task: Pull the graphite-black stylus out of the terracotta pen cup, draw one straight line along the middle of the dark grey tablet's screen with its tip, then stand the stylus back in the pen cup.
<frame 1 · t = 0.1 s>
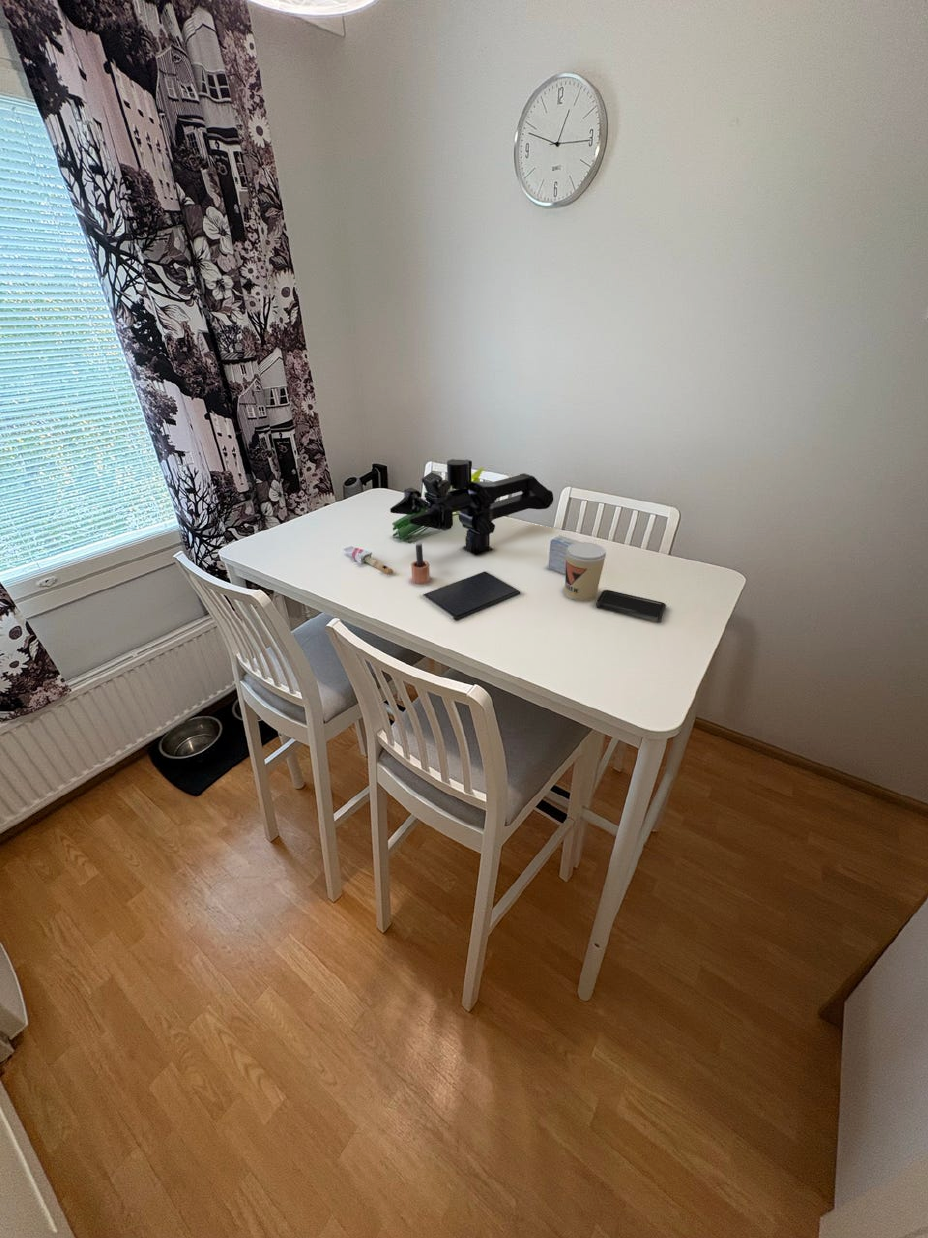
hand: (399, 515, 123), 17 cm above the table, tool horizontal, fingers open, 9 cm apart
paintbrush: (368, 564, 138), on the table
tablet: (471, 595, 122), on the table
medicine box: (564, 571, 133), on the table
pen cup: (421, 581, 129), on the table
daffodil flowers: (439, 529, 158), on the table
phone: (630, 608, 117), on the table
stylus: (421, 579, 128), resting on pen cup
coffee cup: (580, 593, 123), on the table
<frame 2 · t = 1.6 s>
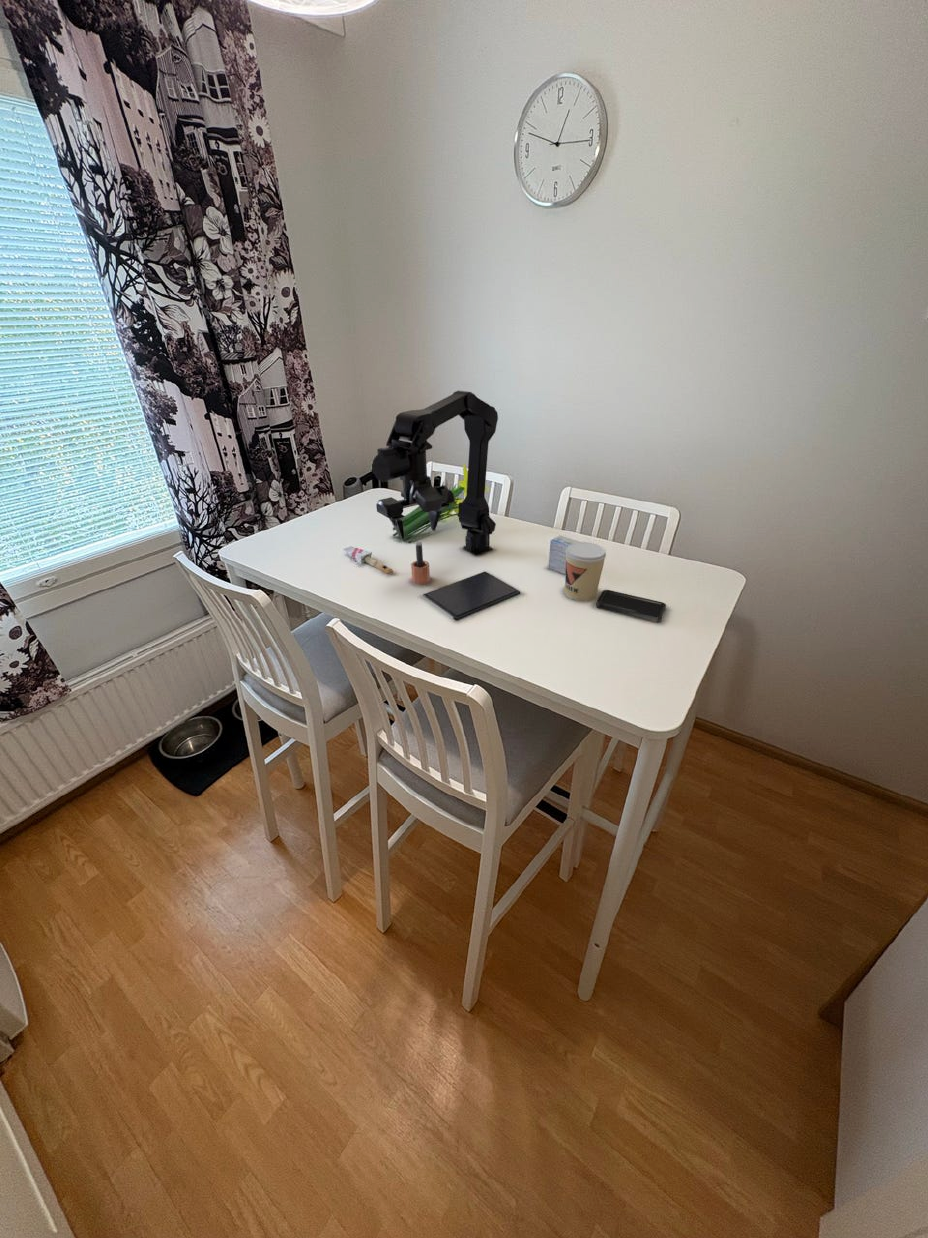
hand: (418, 534, 121), 13 cm above the table, tool pointing down, fingers open, 9 cm apart
nothing on the table moved.
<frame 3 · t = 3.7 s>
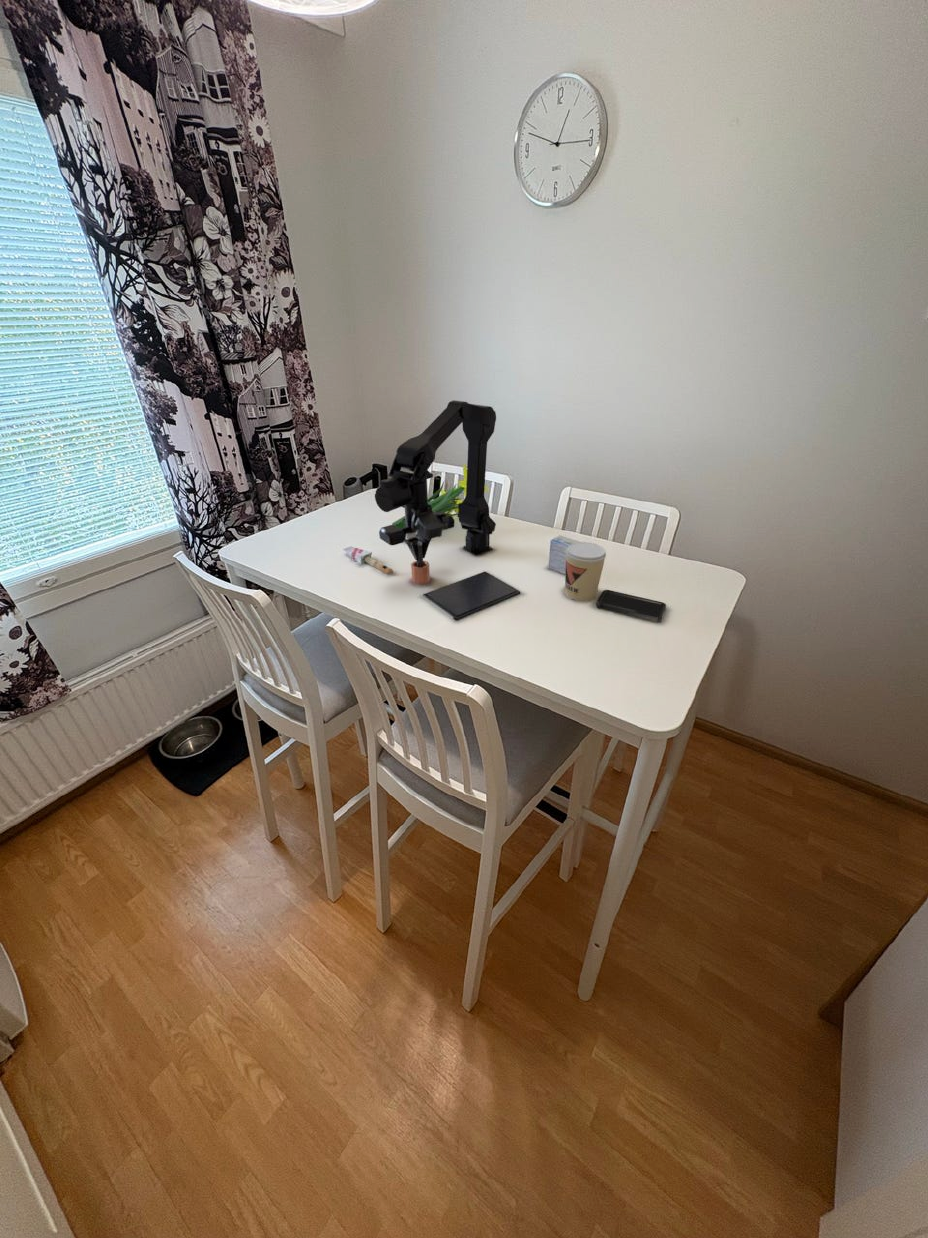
hand: (419, 558, 125), 7 cm above the table, tool pointing down, fingers closed on stylus, 1 cm apart
stylus: (421, 579, 128), point 1 cm above the table, touching gripper, pen cup
everything else where it was.
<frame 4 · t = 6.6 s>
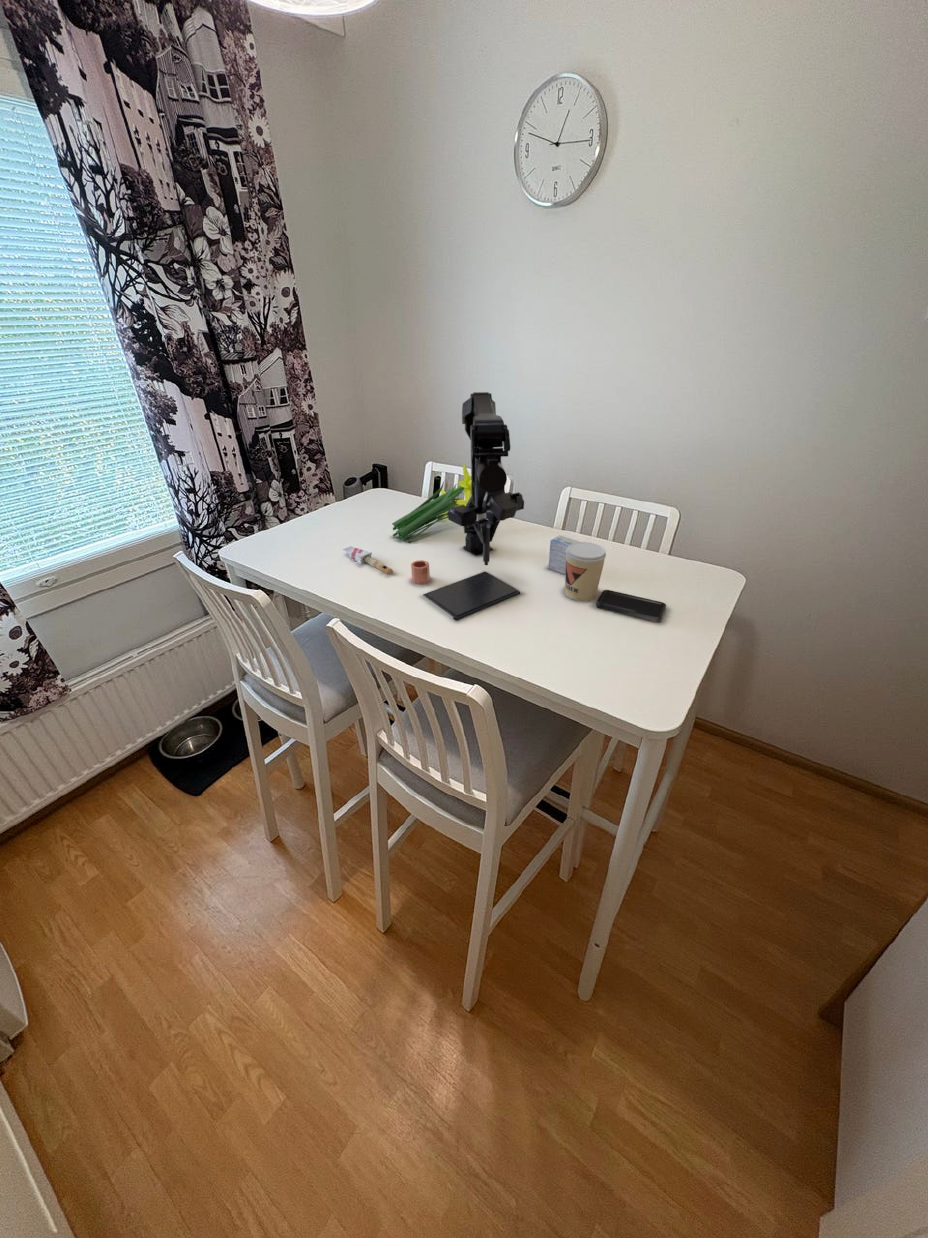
hand: (486, 542, 119), 13 cm above the table, tool pointing down, fingers closed on stylus
stylus: (486, 564, 122), point 7 cm above the table, touching gripper
everything else where it was.
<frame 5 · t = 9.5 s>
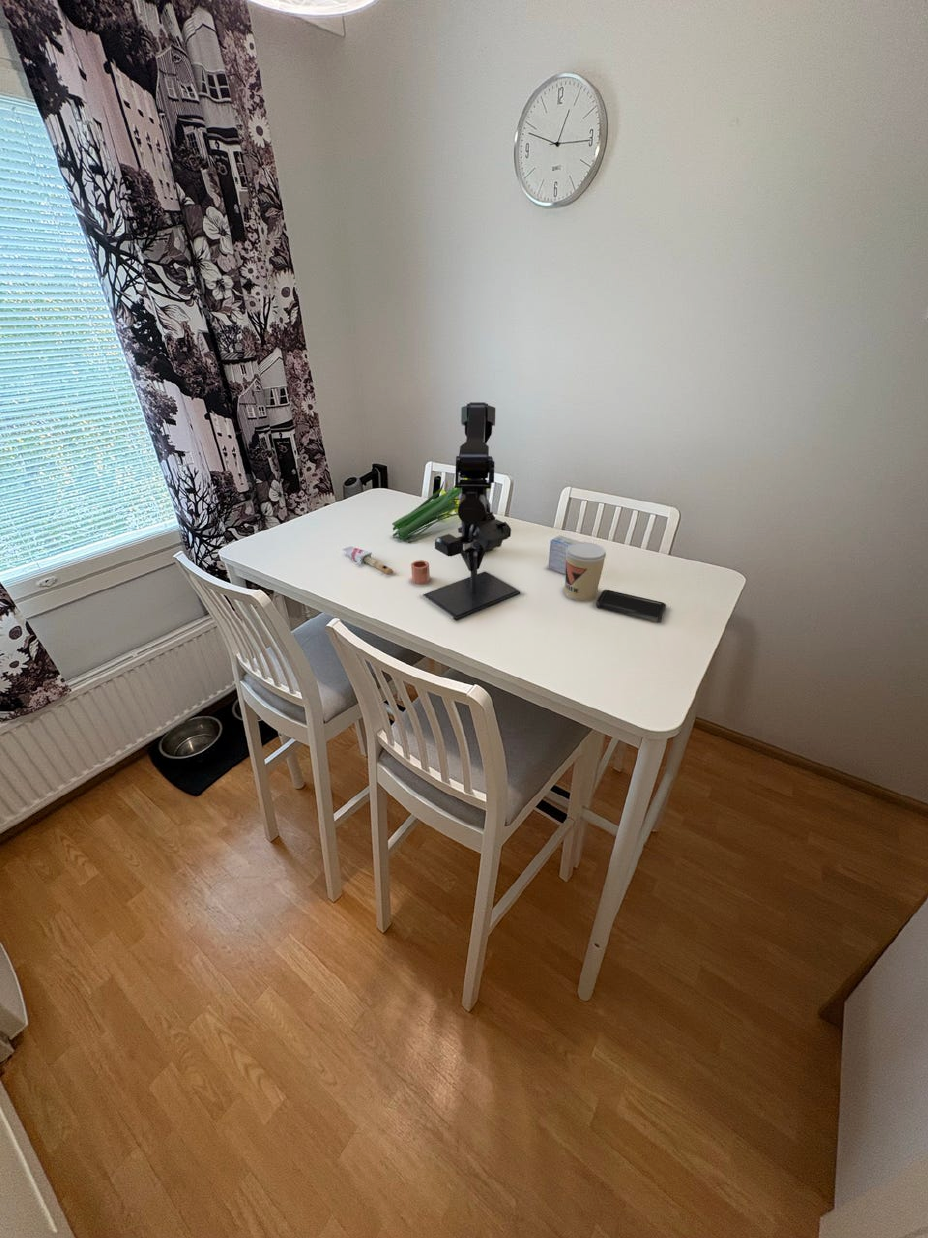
hand: (473, 569, 119), 7 cm above the table, tool pointing down, fingers closed on stylus, 1 cm apart
stylus: (473, 591, 122), point 1 cm above the table, touching gripper
everything else where it was.
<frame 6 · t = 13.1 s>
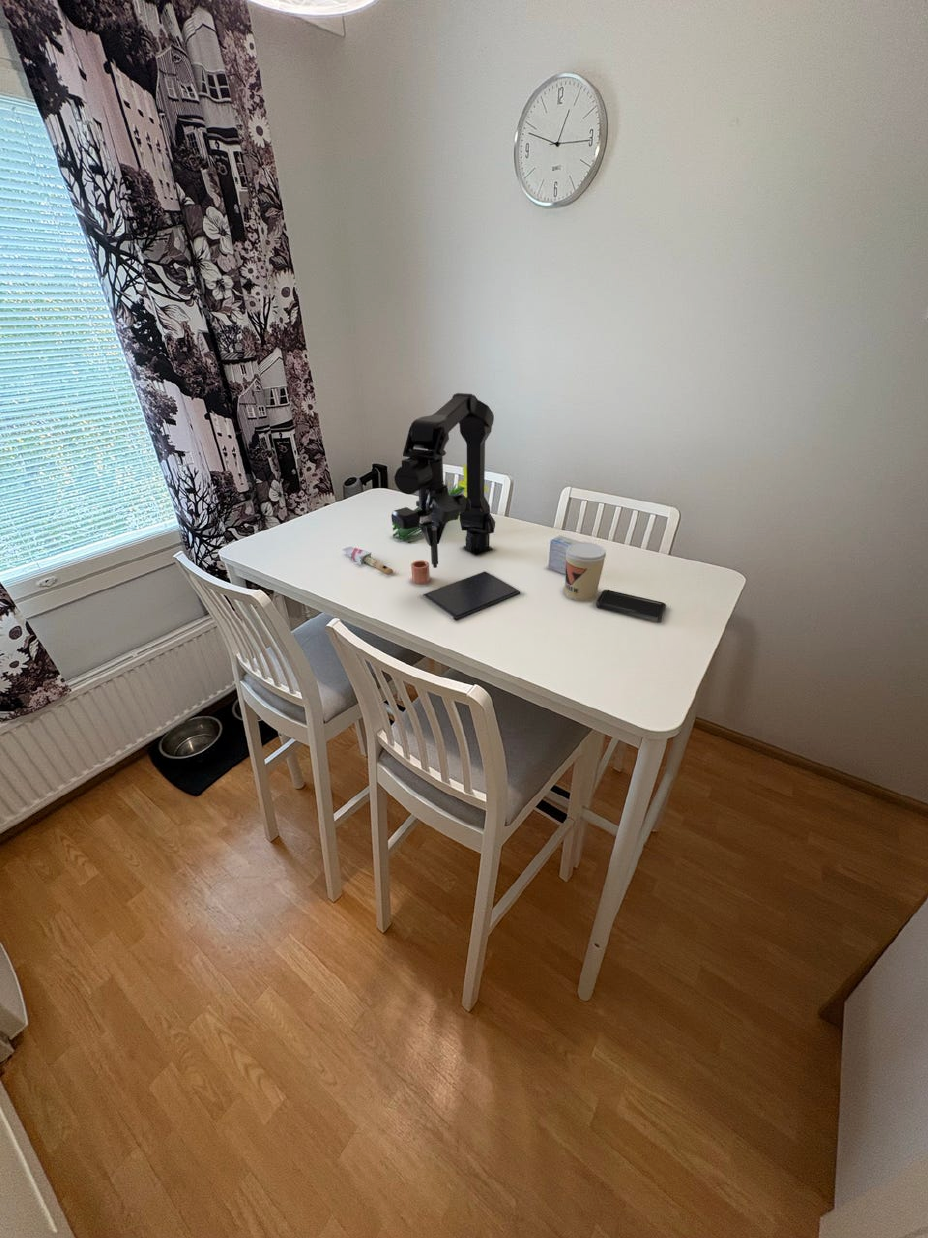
hand: (433, 544, 117), 13 cm above the table, tool pointing down, fingers closed on stylus
stylus: (435, 567, 120), point 7 cm above the table, touching gripper
everything else where it was.
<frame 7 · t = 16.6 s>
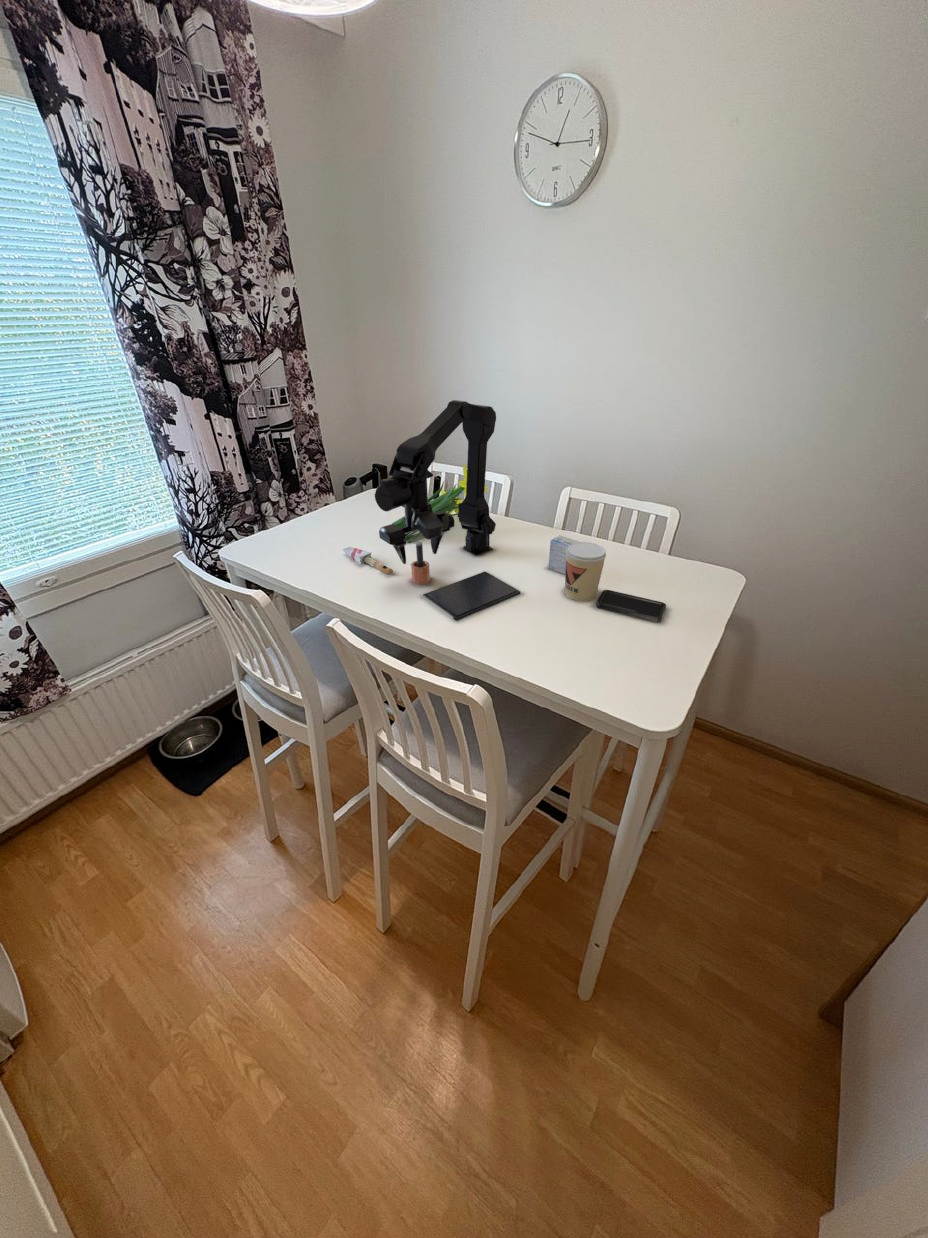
hand: (419, 558, 125), 7 cm above the table, tool pointing down, fingers open, 9 cm apart
stylus: (421, 579, 128), resting on pen cup
everything else where it was.
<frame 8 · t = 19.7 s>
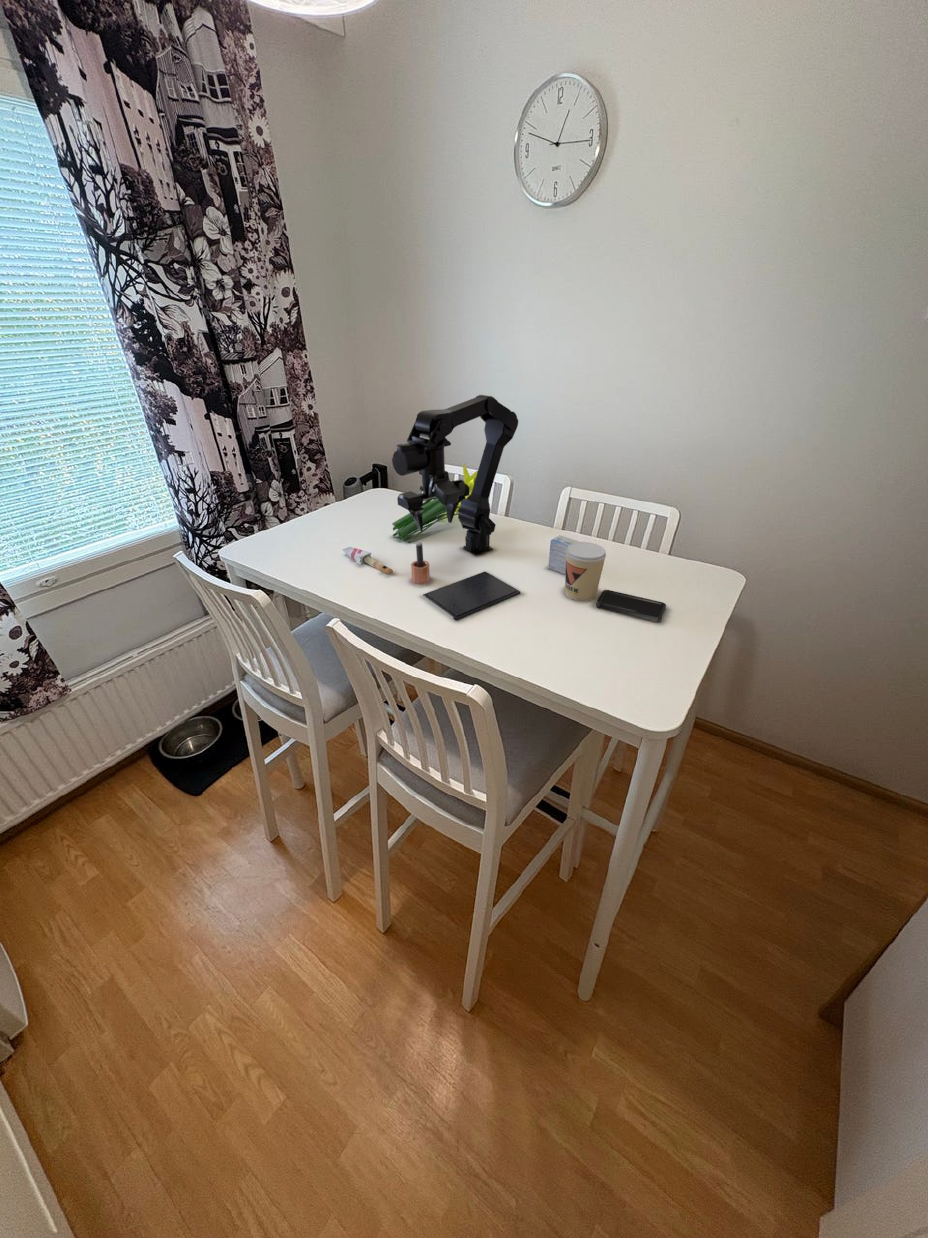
hand: (435, 526, 129), 12 cm above the table, tool pointing down, fingers open, 9 cm apart
nothing on the table moved.
at the end: stylus 0.1 cm off-centre in the pen cup, point 0.5 cm above the pen cup's base; stylus tilted 0°; the gripper is holding nothing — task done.
